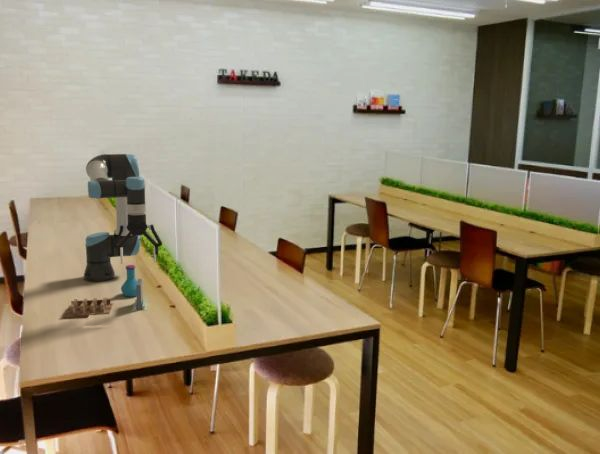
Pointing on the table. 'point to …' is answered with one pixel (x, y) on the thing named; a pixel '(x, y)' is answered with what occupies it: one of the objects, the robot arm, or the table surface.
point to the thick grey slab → (139, 294)
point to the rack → (88, 308)
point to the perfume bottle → (130, 282)
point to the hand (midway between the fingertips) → (138, 262)
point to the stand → (144, 305)
